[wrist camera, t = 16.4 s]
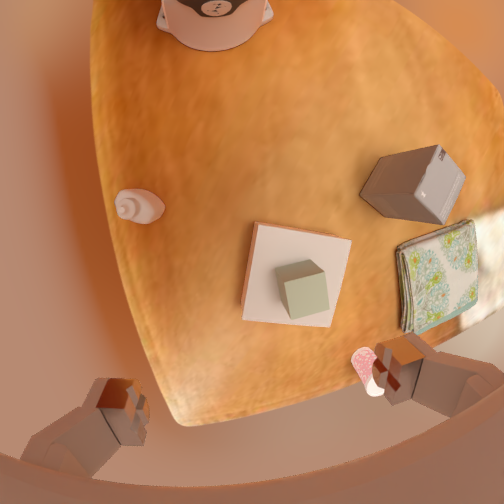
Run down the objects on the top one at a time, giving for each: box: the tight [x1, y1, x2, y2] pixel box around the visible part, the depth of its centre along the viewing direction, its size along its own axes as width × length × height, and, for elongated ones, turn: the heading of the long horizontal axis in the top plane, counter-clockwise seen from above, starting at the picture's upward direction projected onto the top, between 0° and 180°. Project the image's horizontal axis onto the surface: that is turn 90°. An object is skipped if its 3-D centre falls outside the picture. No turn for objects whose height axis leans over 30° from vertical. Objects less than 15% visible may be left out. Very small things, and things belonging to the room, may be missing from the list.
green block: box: [275, 259, 330, 320], centre depth 37 cm, size 5×5×6 cm
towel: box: [396, 220, 478, 335], centre depth 47 cm, size 18×21×5 cm
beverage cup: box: [351, 347, 385, 396], centre depth 44 cm, size 6×6×14 cm
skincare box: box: [360, 145, 466, 225], centre depth 36 cm, size 8×7×16 cm
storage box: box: [241, 221, 352, 327], centre depth 43 cm, size 13×13×6 cm
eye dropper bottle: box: [114, 189, 165, 224], centre depth 35 cm, size 4×6×12 cm
